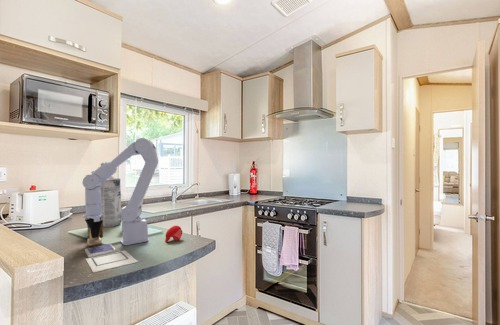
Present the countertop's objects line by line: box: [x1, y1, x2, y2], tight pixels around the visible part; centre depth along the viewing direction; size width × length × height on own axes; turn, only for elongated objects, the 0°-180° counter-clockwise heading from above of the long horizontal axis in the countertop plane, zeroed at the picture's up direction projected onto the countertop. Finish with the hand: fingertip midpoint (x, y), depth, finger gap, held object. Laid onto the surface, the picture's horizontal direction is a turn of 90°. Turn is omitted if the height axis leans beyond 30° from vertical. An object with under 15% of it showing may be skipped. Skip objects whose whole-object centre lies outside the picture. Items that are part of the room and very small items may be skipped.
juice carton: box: [101, 175, 122, 228], centre depth 150 cm, size 9×10×27 cm
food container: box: [84, 215, 104, 238], centre depth 127 cm, size 12×6×10 cm, turn 40°
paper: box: [85, 250, 138, 273], centre depth 93 cm, size 13×16×1 cm
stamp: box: [87, 227, 103, 248], centre depth 113 cm, size 4×4×8 cm
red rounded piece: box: [164, 225, 183, 243], centre depth 116 cm, size 8×6×6 cm
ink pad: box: [84, 243, 117, 258], centre depth 102 cm, size 9×9×1 cm
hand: (94, 236), depth 113 cm, fingers open, 3 cm apart
